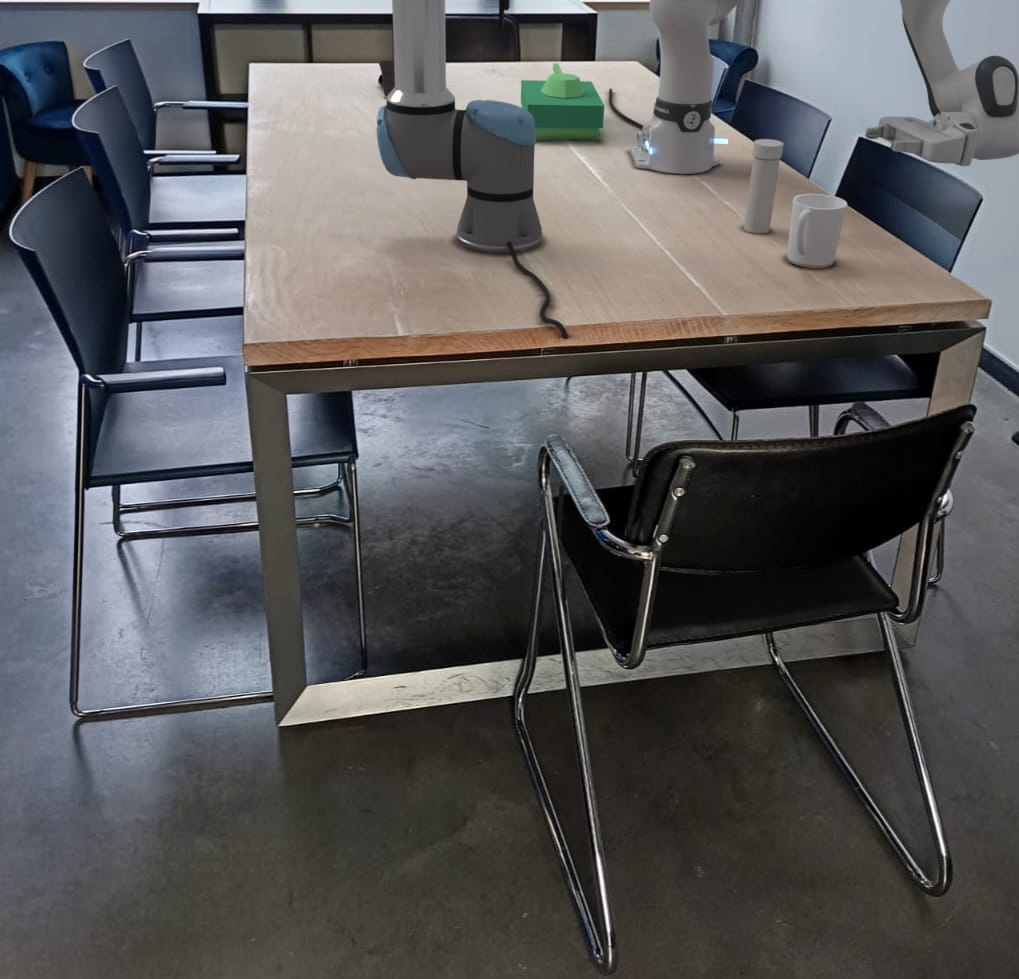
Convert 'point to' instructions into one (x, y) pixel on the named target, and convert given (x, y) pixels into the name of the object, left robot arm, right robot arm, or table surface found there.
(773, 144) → the lid
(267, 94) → the table surface
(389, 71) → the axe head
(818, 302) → the table surface
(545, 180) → the table surface
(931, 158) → the right robot arm
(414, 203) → the table surface
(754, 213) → the grey bottle
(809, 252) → the mug
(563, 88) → the toy tank
